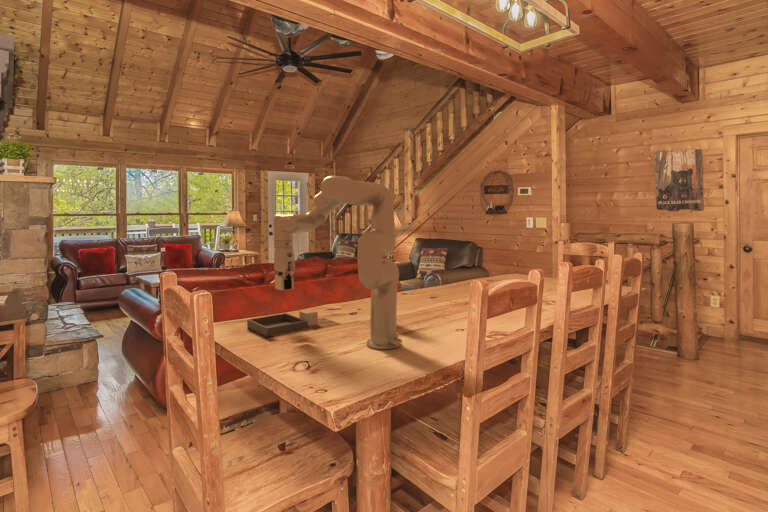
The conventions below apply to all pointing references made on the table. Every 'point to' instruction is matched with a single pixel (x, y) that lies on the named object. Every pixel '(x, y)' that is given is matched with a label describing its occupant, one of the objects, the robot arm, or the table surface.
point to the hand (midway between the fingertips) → (284, 287)
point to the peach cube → (281, 282)
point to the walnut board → (323, 324)
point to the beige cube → (309, 316)
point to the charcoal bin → (276, 324)
